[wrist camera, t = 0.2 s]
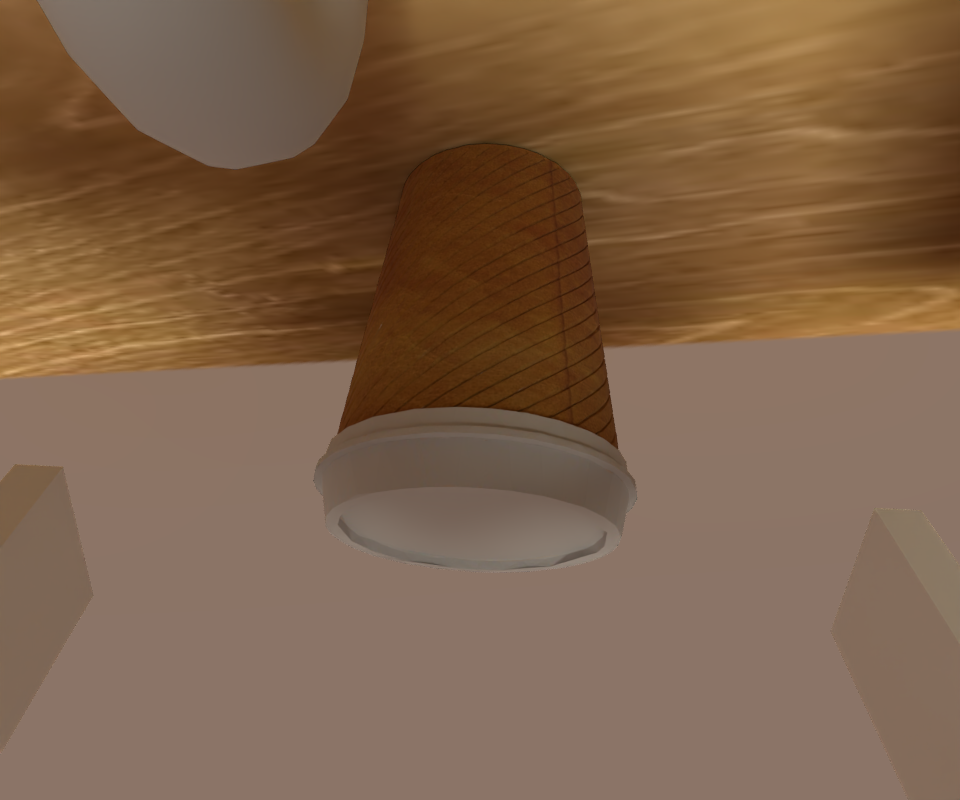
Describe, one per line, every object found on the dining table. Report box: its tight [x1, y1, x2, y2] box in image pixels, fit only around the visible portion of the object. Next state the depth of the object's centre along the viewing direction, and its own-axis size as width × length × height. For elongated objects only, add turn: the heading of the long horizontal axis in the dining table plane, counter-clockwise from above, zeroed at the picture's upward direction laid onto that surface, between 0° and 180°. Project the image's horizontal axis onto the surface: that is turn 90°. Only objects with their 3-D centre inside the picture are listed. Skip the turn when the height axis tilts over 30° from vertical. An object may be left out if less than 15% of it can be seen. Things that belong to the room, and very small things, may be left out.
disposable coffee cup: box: [313, 144, 637, 573], centre depth 27 cm, size 10×10×12 cm
